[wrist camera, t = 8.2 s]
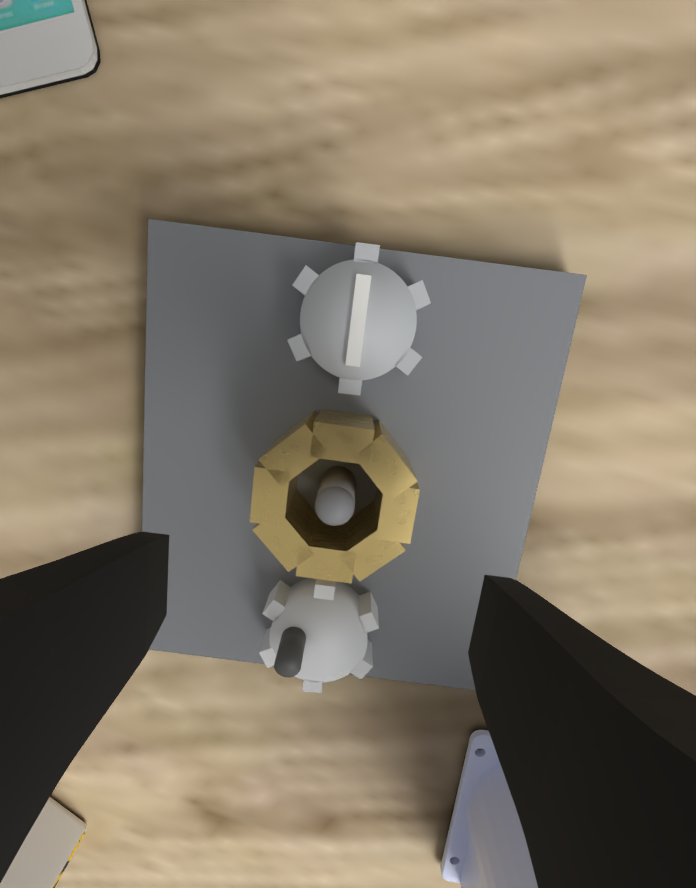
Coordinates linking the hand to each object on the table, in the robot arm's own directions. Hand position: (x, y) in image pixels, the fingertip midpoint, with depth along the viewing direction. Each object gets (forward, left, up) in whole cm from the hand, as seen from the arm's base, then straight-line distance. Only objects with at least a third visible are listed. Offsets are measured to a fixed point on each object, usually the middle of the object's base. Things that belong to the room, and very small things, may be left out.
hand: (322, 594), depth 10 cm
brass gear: (0, 0, -8) cm, 8 cm away
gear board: (0, 0, -9) cm, 9 cm away
